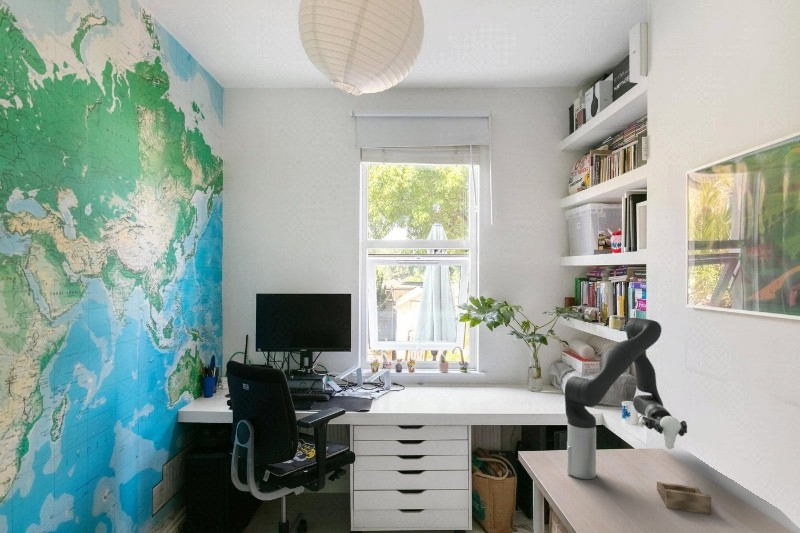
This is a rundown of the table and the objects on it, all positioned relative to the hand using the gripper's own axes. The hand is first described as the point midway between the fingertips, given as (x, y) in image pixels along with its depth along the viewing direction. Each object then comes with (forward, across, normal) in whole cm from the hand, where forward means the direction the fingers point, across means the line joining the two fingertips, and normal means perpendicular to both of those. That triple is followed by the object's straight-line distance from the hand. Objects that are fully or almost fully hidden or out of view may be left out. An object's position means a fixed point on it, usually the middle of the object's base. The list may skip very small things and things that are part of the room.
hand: (671, 431), depth 144 cm
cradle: (+11, 0, +17) cm, 21 cm away
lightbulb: (-3, 0, +7) cm, 7 cm away
